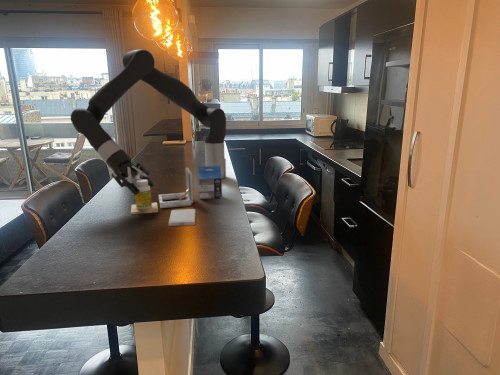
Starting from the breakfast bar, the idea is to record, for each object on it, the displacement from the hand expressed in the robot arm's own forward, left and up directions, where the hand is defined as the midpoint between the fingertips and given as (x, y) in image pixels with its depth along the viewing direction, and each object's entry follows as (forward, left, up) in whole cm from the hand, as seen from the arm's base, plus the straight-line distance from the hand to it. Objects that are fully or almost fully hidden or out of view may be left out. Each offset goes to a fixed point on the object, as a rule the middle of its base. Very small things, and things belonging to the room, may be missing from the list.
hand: (145, 190), depth 122 cm
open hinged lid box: (-10, -6, -7) cm, 14 cm away
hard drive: (-11, +13, -8) cm, 19 cm away
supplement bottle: (+1, -1, -7) cm, 7 cm away
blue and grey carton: (-24, -8, -7) cm, 27 cm away
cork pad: (+1, -1, -7) cm, 7 cm away
